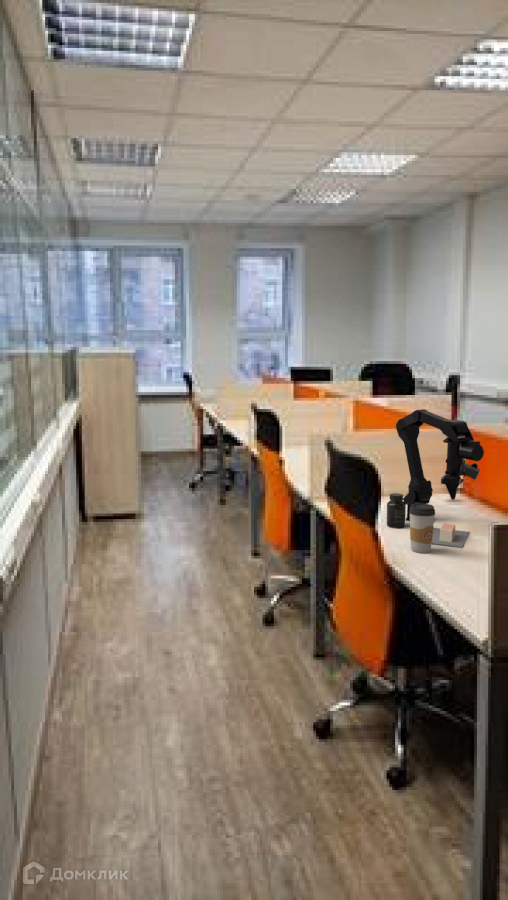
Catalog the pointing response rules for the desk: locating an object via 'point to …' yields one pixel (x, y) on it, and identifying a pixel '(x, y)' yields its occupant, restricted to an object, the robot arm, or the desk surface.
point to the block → (447, 532)
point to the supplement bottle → (396, 511)
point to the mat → (456, 542)
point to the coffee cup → (421, 527)
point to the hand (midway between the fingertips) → (453, 499)
